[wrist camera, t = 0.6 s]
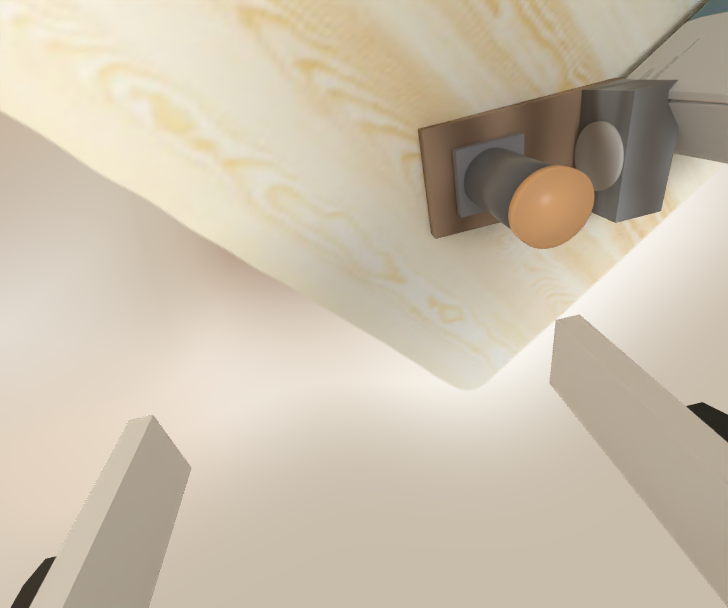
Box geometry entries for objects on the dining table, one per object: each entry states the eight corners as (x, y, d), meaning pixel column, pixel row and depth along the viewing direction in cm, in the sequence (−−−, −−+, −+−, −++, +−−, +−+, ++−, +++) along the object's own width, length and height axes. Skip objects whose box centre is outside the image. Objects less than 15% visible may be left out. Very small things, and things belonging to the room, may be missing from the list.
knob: (457, 214, 36) (511, 262, 26) (452, 149, 32) (510, 176, 23) (518, 199, 36) (593, 240, 26) (518, 131, 32) (604, 152, 23)
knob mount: (431, 233, 38) (456, 263, 32) (418, 129, 33) (444, 140, 27) (601, 189, 38) (660, 211, 32) (615, 77, 33) (689, 76, 26)
